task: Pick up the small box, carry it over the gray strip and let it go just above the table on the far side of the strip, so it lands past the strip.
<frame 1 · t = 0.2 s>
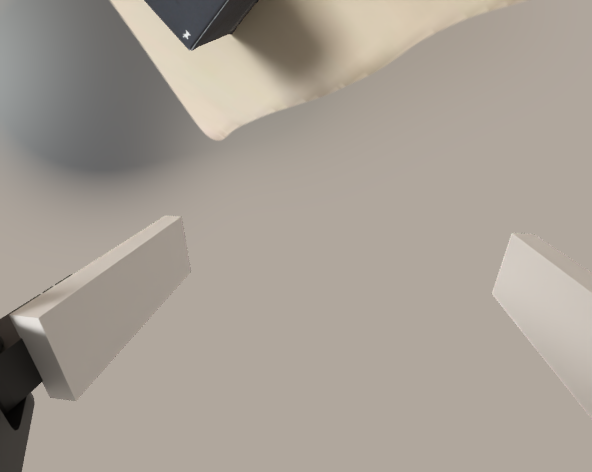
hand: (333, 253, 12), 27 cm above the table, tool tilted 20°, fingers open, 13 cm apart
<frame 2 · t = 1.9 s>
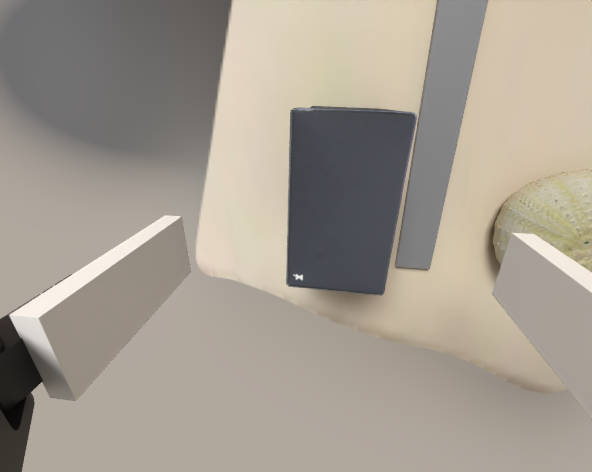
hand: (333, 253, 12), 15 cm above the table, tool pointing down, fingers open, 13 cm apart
small box: (342, 172, 26), on the table
sea urchin shell: (543, 220, 25), on the table
gray strip: (435, 138, 23), on the table
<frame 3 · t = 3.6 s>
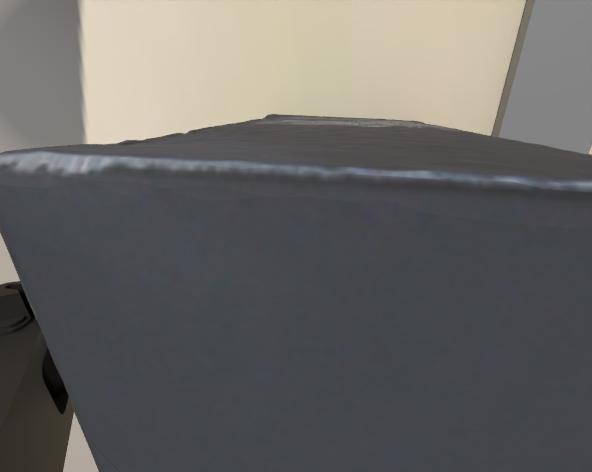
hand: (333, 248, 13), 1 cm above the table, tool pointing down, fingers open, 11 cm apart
small box: (333, 238, 14), on the table
gray strip: (522, 180, 11), on the table
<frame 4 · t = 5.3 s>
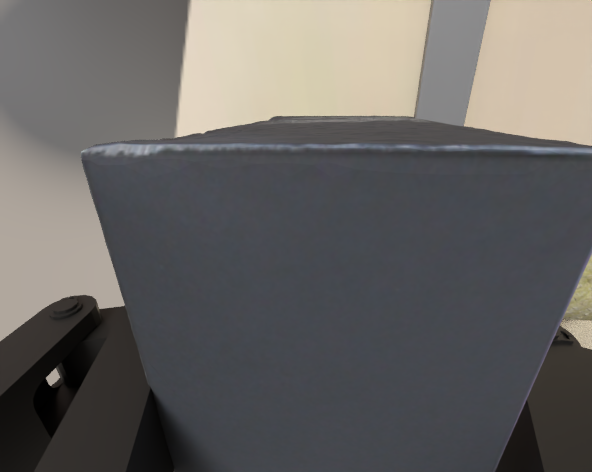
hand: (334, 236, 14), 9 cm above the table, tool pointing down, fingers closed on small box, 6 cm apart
small box: (337, 228, 15), point 8 cm above the table, touching gripper
sea urchin shell: (552, 243, 22), on the table
gray strip: (431, 151, 20), on the table
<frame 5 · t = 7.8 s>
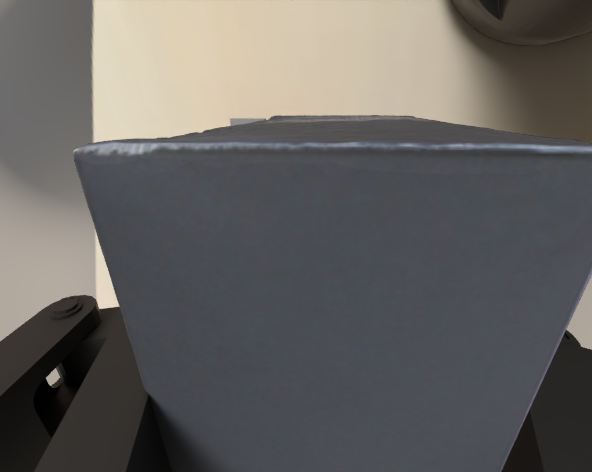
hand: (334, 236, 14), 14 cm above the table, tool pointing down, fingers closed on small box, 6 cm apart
small box: (337, 228, 15), point 13 cm above the table, touching gripper
when the fingers open (1 cm above the table, at t = 10.7 s): small box stays where it is, on the table.
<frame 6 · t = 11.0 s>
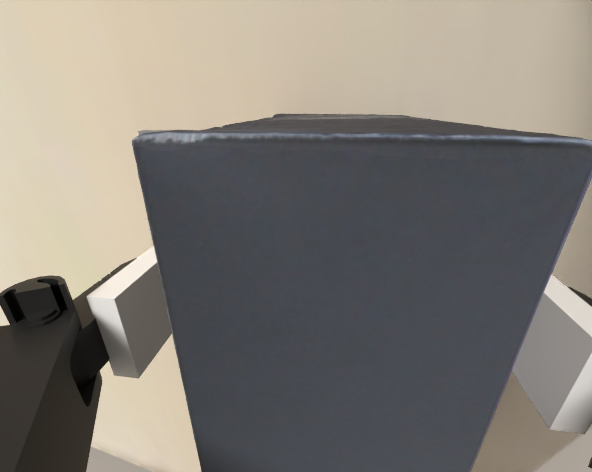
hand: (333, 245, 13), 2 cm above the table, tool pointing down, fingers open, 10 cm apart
small box: (335, 222, 15), on the table
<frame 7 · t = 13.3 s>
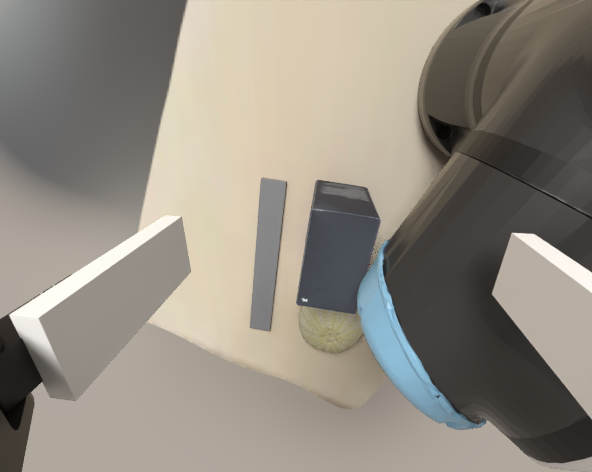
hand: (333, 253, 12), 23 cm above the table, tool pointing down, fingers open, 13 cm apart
small box: (334, 223, 37), on the table
sea urchin shell: (331, 311, 42), on the table
gray strip: (266, 262, 40), on the table
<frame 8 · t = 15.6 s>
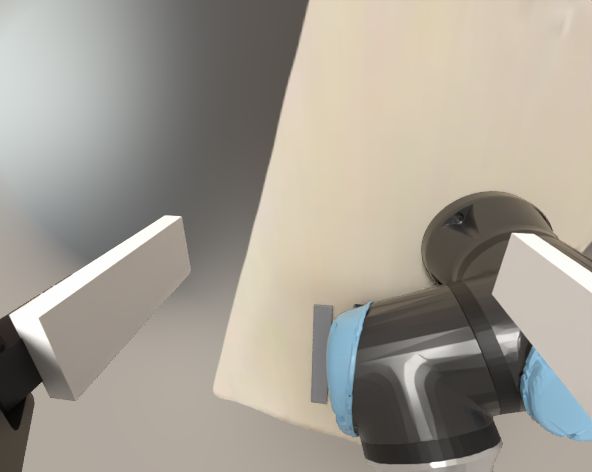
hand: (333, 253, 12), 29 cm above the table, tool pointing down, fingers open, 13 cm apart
gray strip: (320, 357, 53), on the table
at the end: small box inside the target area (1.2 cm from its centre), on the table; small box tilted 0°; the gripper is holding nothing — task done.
